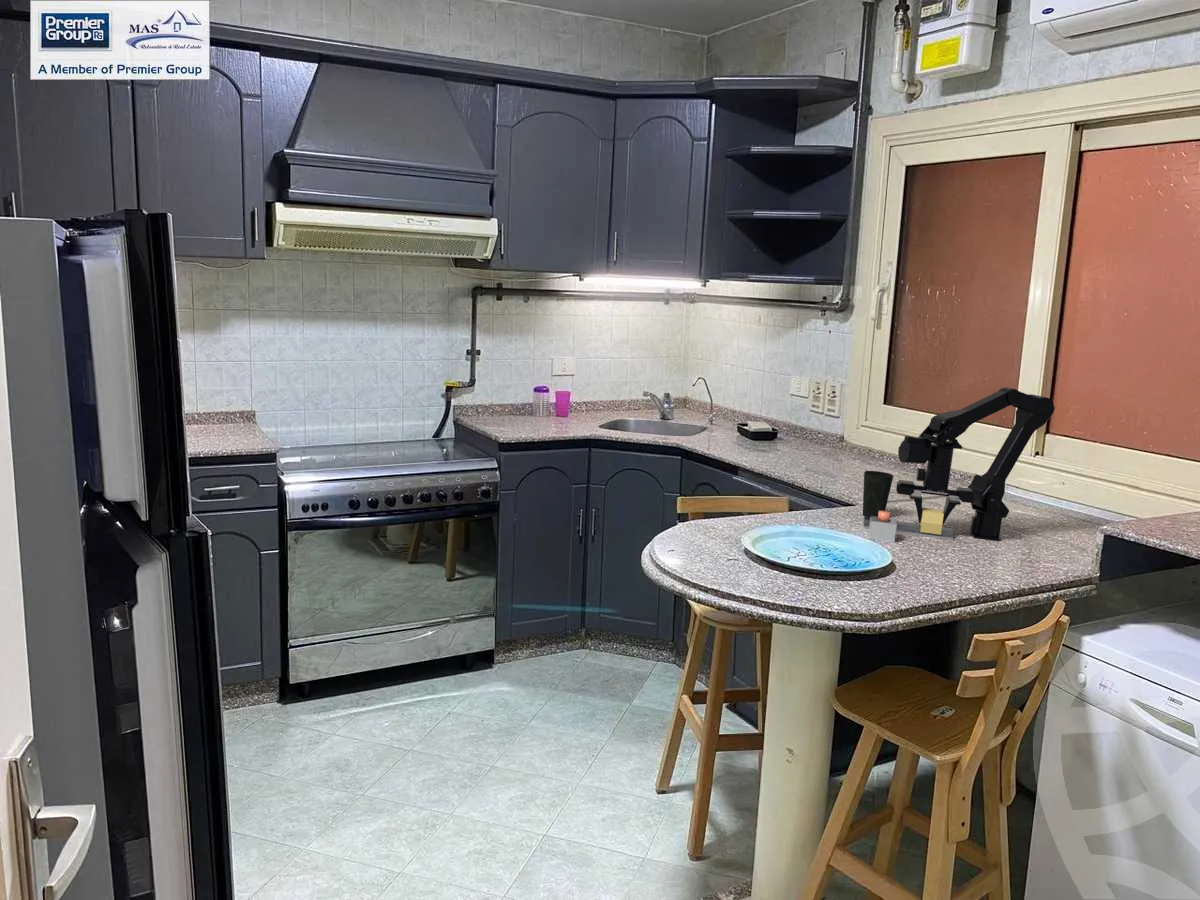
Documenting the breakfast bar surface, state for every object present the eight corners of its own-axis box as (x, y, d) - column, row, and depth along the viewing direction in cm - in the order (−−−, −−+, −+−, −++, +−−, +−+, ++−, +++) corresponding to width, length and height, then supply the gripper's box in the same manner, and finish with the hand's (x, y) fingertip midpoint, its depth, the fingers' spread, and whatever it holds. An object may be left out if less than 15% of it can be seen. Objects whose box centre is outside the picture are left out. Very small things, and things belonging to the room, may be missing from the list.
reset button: (889, 519, 234) (890, 511, 234) (889, 521, 231) (890, 513, 231) (877, 517, 235) (878, 510, 234) (877, 520, 232) (879, 512, 232)
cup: (881, 521, 252) (887, 477, 250) (854, 515, 256) (859, 472, 254) (891, 517, 258) (897, 474, 256) (865, 511, 262) (870, 469, 260)
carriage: (938, 529, 243) (941, 509, 242) (940, 534, 238) (943, 514, 237) (918, 527, 244) (921, 507, 243) (920, 531, 239) (923, 511, 238)
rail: (950, 534, 243) (951, 527, 243) (952, 540, 237) (954, 532, 237) (862, 522, 248) (863, 515, 248) (863, 528, 242) (864, 520, 242)
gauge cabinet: (892, 536, 236) (895, 519, 235) (894, 542, 230) (896, 524, 229) (868, 533, 237) (870, 515, 236) (869, 538, 232) (871, 521, 231)
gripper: (973, 463, 244) (964, 522, 247) (899, 455, 248) (891, 512, 251) (979, 471, 233) (970, 531, 236) (902, 462, 237) (893, 521, 240)
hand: (930, 524), depth 241 cm, fingers closed on carriage, 5 cm apart
